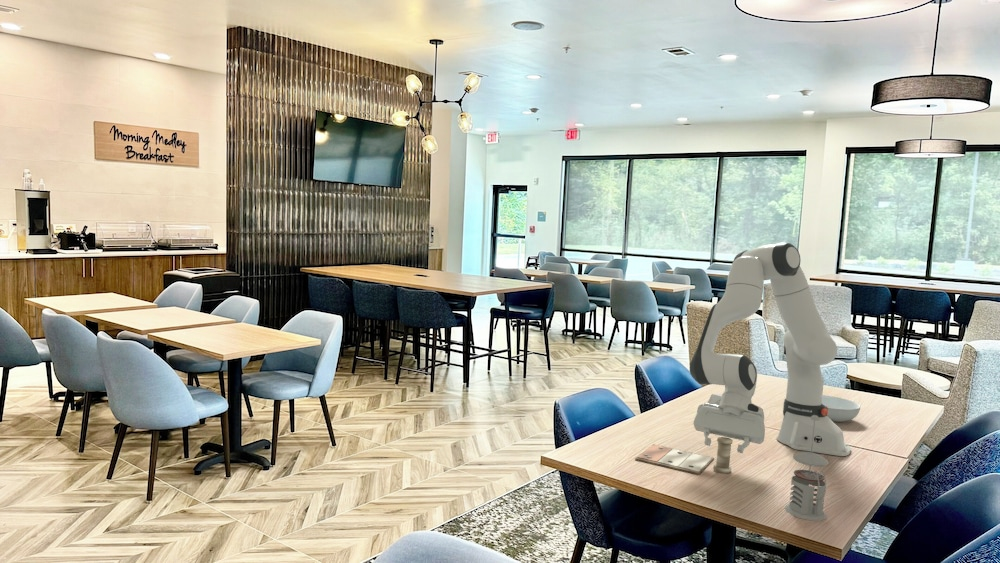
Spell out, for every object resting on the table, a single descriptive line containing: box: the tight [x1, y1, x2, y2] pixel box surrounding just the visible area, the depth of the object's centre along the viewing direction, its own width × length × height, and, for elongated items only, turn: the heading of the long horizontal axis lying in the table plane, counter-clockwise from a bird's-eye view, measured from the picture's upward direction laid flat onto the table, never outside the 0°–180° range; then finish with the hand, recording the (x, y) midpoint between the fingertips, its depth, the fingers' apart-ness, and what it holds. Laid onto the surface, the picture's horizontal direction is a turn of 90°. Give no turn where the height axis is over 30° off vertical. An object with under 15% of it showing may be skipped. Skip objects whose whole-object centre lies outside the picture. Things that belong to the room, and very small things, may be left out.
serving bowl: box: [822, 394, 861, 423], centre depth 266 cm, size 21×21×7 cm
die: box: [706, 393, 723, 406], centre depth 262 cm, size 8×9×10 cm
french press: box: [784, 415, 829, 522], centre depth 171 cm, size 10×12×25 cm
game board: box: [634, 444, 715, 476], centre depth 207 cm, size 19×17×1 cm
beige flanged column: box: [712, 436, 733, 475], centre depth 200 cm, size 5×5×9 cm
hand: (723, 448), depth 201 cm, fingers open, 8 cm apart
